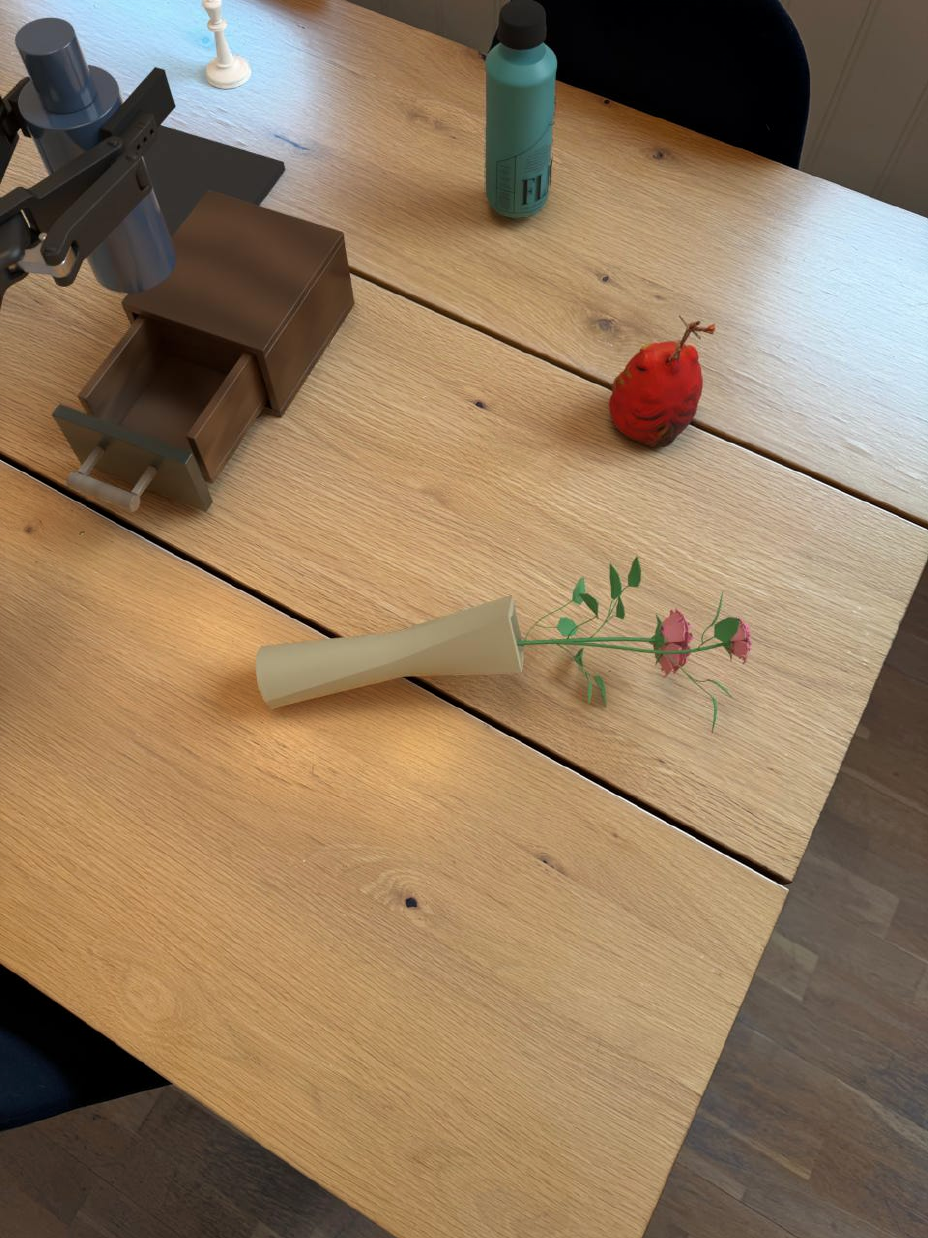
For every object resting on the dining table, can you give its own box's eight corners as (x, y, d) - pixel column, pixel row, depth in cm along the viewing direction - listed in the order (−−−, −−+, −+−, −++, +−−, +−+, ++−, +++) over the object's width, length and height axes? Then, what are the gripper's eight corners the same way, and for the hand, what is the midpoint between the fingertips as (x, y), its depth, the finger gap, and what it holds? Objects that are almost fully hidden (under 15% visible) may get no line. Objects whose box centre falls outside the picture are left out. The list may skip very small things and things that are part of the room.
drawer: (180, 552, 83) (156, 506, 77) (53, 502, 85) (20, 453, 79) (283, 394, 90) (268, 340, 84) (163, 352, 93) (141, 297, 86)
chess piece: (233, 53, 113) (212, -39, 104) (260, 74, 111) (241, -18, 103) (197, 73, 112) (172, -19, 103) (224, 95, 110) (201, 3, 101)
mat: (62, 210, 102) (58, 202, 101) (136, 124, 108) (133, 116, 107) (217, 261, 99) (215, 253, 98) (285, 169, 105) (284, 161, 104)
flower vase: (317, 686, 86) (735, 614, 80) (301, 808, 78) (768, 738, 72) (263, 590, 78) (724, 501, 72) (239, 714, 70) (760, 626, 63)
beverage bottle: (519, 241, 99) (528, 45, 82) (469, 209, 101) (466, 12, 84) (562, 206, 101) (579, 8, 84) (512, 175, 104) (519, -24, 86)
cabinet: (281, 417, 90) (262, 351, 82) (150, 371, 93) (120, 302, 85) (354, 303, 96) (343, 231, 88) (229, 263, 99) (208, 189, 91)
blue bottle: (76, 278, 77) (-31, 53, 61) (122, 222, 79) (30, -8, 63) (148, 303, 76) (58, 80, 60) (192, 246, 78) (117, 17, 62)
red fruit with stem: (675, 381, 91) (709, 252, 78) (706, 442, 88) (746, 319, 75) (596, 402, 90) (615, 274, 77) (624, 464, 87) (650, 343, 74)
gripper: (-188, 308, 65) (23, 88, 74) (68, 404, 61) (256, 159, 70) (-265, 213, 58) (-22, -16, 67) (17, 314, 54) (233, 56, 63)
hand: (119, 73), depth 69 cm, fingers closed on blue bottle, 6 cm apart
